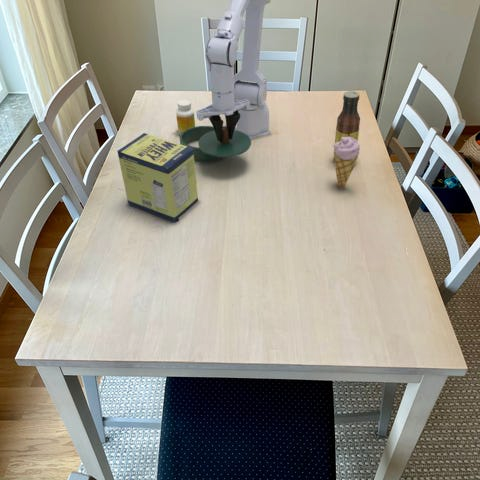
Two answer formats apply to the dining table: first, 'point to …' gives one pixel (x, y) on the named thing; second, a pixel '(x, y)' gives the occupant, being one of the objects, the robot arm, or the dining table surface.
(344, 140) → the ice cream cone
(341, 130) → the sauce bottle
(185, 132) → the pot
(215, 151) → the lid
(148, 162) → the protein box
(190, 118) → the supplement bottle
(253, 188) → the dining table surface
